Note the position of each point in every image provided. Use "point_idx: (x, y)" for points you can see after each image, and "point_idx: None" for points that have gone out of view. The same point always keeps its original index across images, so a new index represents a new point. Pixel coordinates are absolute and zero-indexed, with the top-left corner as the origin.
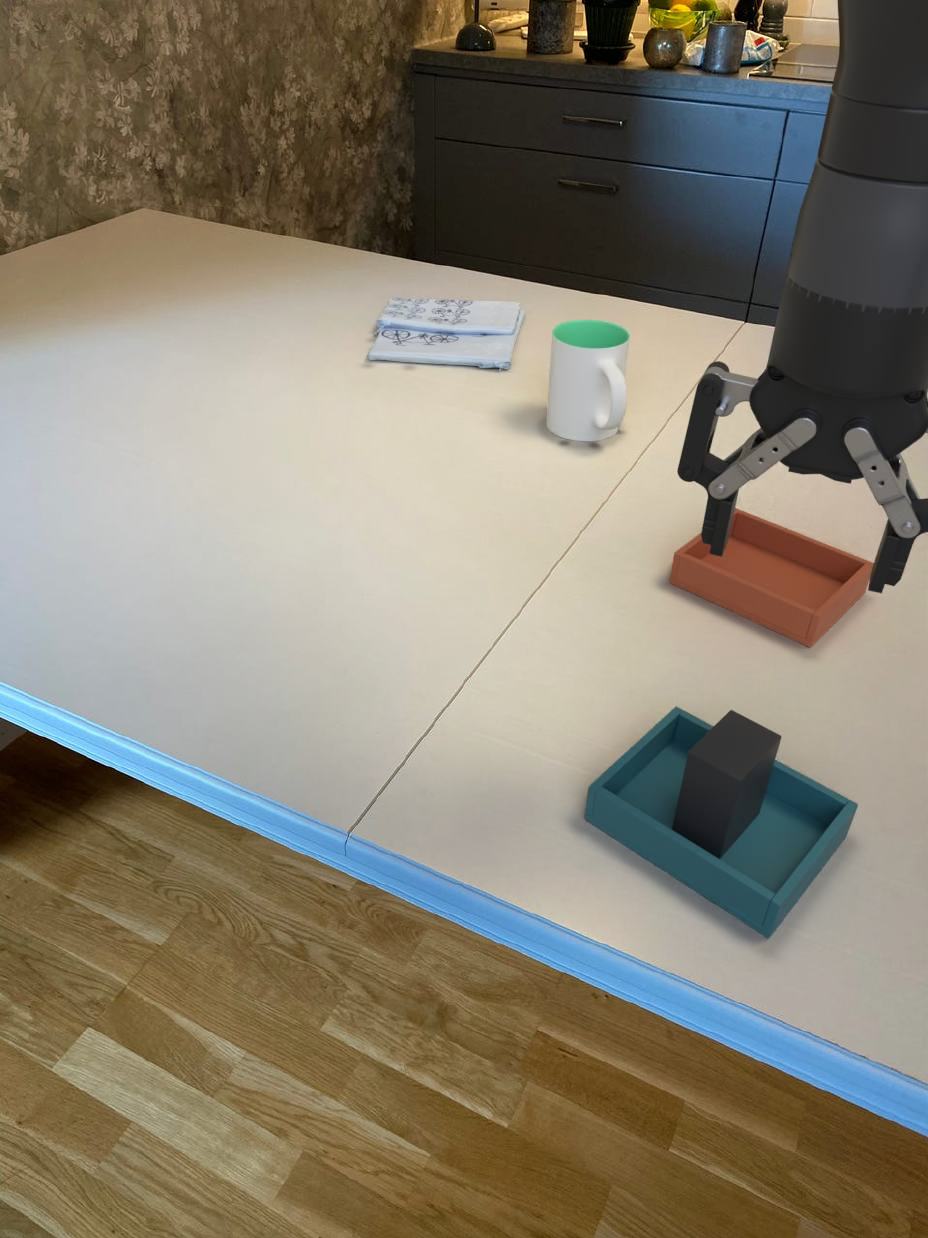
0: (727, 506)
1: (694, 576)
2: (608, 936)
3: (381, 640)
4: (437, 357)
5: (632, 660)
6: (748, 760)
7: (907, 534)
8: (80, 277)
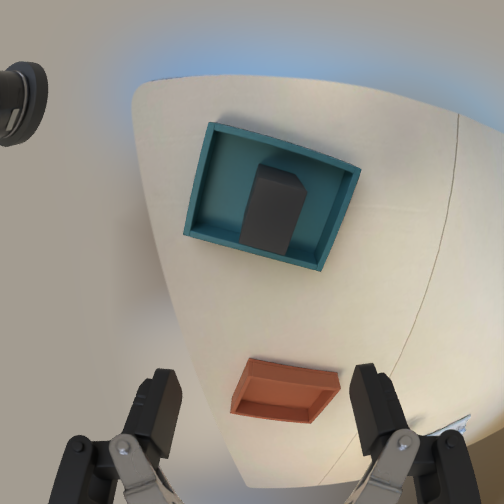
0: (383, 425)
1: (325, 379)
2: (307, 82)
3: (477, 260)
4: (445, 429)
5: (350, 310)
6: (257, 202)
7: (124, 438)
8: None
